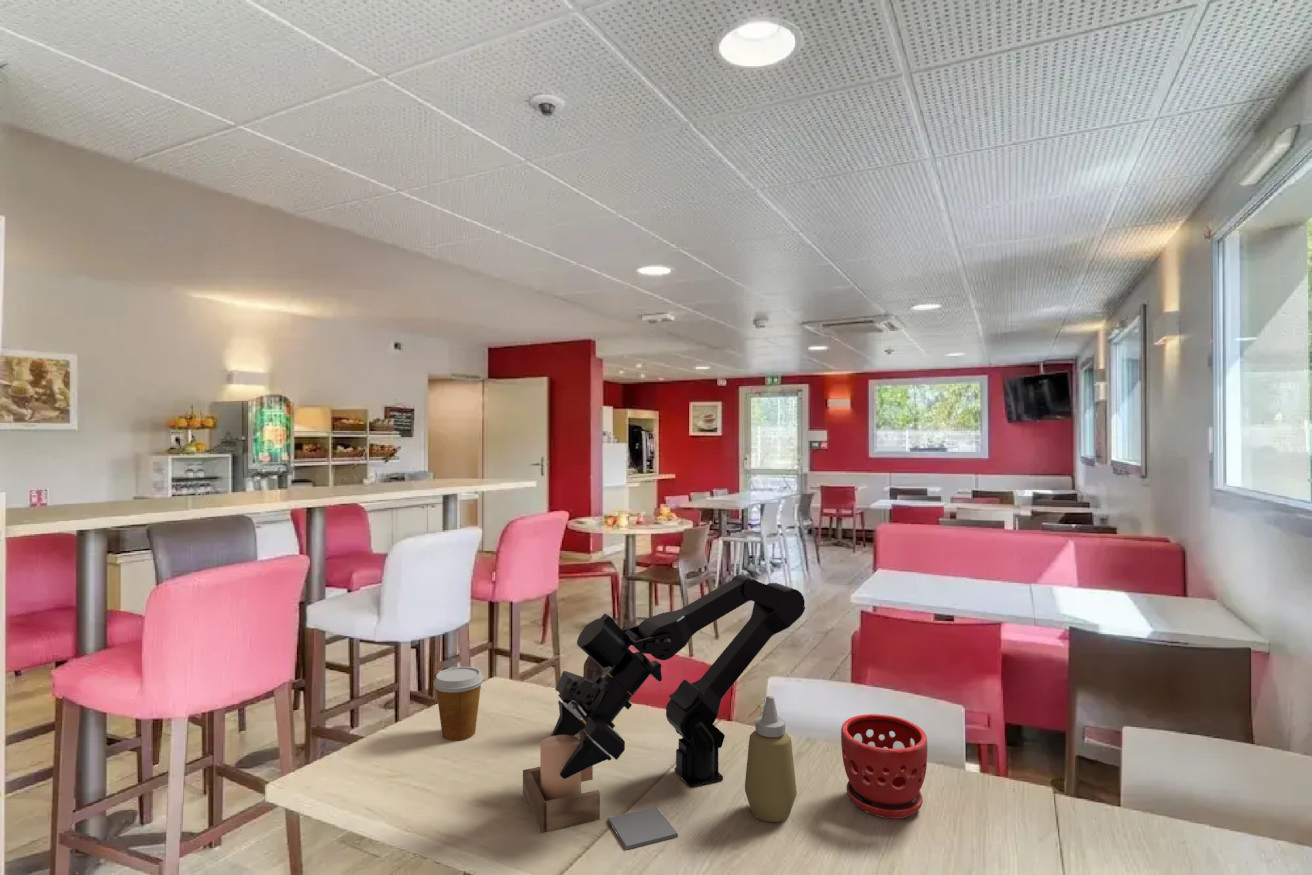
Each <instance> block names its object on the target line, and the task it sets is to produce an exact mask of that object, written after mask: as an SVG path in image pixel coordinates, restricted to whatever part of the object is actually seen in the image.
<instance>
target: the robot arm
mask: <svg viewBox="0 0 1312 875" xmlns="http://www.w3.org/2000/svg"><path fill="white" fill-rule="evenodd" d="M751 601H752V602H753V607H752V611H751V612H752V613H751V616H750V618H749V620H748V621H746V623H745V624H744V626H743V627H742V628H741V629H740V631H739V632H738V633H737V634H736V636H734V638H733V639H732V640H731V641H730V643H729V644H728V645H727V646H726V647H725V649H724V650H723V651H722V652H721V653H720V655H719V656H718V657H717V658H716V660H715V661H713V663H712V664H711V666H710V667H709V668H708V670H706V671H705V673H704V674H703V676H701V678H699V679H697V681H694V682H692V683H691V682H690V681H688V680H687V679H683V680H682V681H681V682H680V684H679V685H678V687H677V688H676V690H675V691H673V693H671V694H669V695H668V698H670V699H669V701H668V702H667V704H666V706H665V711H666V712H665V716H666V720H667V721H668V723H669V724H670V725H671V726H672V727H673V728H674V730H675V732H676V733H677V734H678V735H679V736H680V738H678V748H676V751H675V767H674V772H675V773H676V774H677V775H678V777H680V779H682V780H683V782H684V783H685V784H686V785H687V786H688V787H689V788H692V787H693V788H694V787H697V786H702V785H706V784H710V783H711V784H712V783H714V782H715V783H716V782H719V781H723V780H724V776H723V775H722V774H721V772H719V749H720V748H722V746H723V744H724V741H725V740H724V739H725V737H726V735H725V734H724V733H723V732H722V731H721V729H719V728H717V726H715V724H714V723H715V721H716V720H717V718H718V716H719V713H720V712H719V710H720V706H721V704H722V703H721V702H722V699H723V698H724V696H725V695H726V693H728V692H729V690H730V689H731V687H732V686H733V685H734V684H735V683H736V682H737V680H738V679H739V678H740V677H741V675H742V674H743V673H744V672H745V670H746V669H747V667H749V665H750V664H751V663H752V662H753V660H754V659H755V658H756V656H758V655H759V653H760V652H761V650H762V649H763V648H764V647H765V646H766V644H767V643H768V642H769V640H770V639H771V638H772V637H773V636H775V635H776V634H779V633H781V632H784V631H785V630H787V629H789V628H790V627H791V626H792V625H793V624H794V623H796V622H797V620H799V619H800V618H801V617H802V615H803V614H804V613H805V610H806V606H805V603H806V602H805V598H804V596H803V593H802V592H801V591H799V589H798V590H797V589H795V588H792V587H790V586H787V585H784V584H781V583H777V582H769V583H767V584H765V583H762V582H760V581H758V579H755V578H754V577H750V576H747V575H745V574H738V575H735V576H733V577H732V579H731V580H729V581H727V582H726V583H724V584H722V585H720V586H718V587H717V588H715V589H714V590H711V591H710V592H708V593H707V594H705V595H703V596H701V597H700V598H699V597H698V599H696V600H694V601H692V602H691V603H689V604H687V605H685V606H683V607H682V608H680V609H676V610H672V611H668V612H667V611H666V612H662V613H659V614H655V615H653V616H650V617H647V618H645V619H644V620H642V621H641V622H640V623H639V624H638V625H634V626H630V627H628V628H623V629H622V627H620V626H619V625H618V624H617V623H616V621H615V620H614V618H612V617H611V616H610V615H609V614H607V613H603V615H602V616H601V617H600V618H597V619H594V620H593V621H592V622H590V623H589V624H587V625H585V626H584V628H583V629H582V630H581V631H580V633H579V635H578V638H577V640H576V646H577V647H579V648H580V650H582V651H583V652H584V653H585V654H586V655H587V656H590V657H591V658H592V659H593V660H594V661H595V662H596V663H597V664H598V665H599V666H601V667H602V668H606V667H608V666H610V667H611V668H610V669H609V670H608V673H609V674H610V675H611V676H612V677H611V676H610V675H609V674H608V673H606V674H605V675H604V676H603V677H602V676H601V675H600V674H599V675H596V676H595V677H594V679H593V680H590V679H586V678H584V677H583V676H582V675H578V674H576V673H572V672H569V671H567V670H563V671H562V673H561V674H560V677H559V679H558V683H557V684H556V686H555V691H556V692H558V693H559V694H558V695H557V696H558V697H559V699H560V700H557V701H558V702H557V703H558V708H559V716H558V719H557V721H556V723H555V726H554V729H553V730H552V733H551V734H550V737H551V736H556V735H571V736H575V737H576V735H577V734H579V739H580V743H579V745H578V746H577V748H576V749H575V751H574V752H573V754H572V755H571V757H570V758H569V760H568V761H567V763H566V764H565V766H564V767H563V769H562V771H561V772H560V776H561V777H562V778H564V779H566V778H568V777H570V776H572V775H574V774H576V773H578V772H580V771H582V770H584V769H586V768H588V767H590V766H593V767H594V766H595V765H598V764H600V763H602V762H605V761H611V760H612V759H615V760H616V761H618V759H619V758H620V756H621V755H622V754H623V753H624V752H625V750H626V747H625V746H626V743H625V742H626V741H625V740H624V739H623V737H622V736H621V735H620V734H619V733H618V732H617V731H616V730H615V729H614V728H615V727H616V725H615V724H614V720H615V719H616V717H617V716H618V715H619V714H620V713H621V711H622V710H623V709H624V708H625V709H627V710H630V708H631V707H632V706H633V704H632V703H631V702H630V701H631V699H632V698H633V697H634V695H635V694H636V692H637V691H639V689H640V688H641V686H643V684H644V683H645V682H646V680H647V679H649V677H650V676H651V677H653V678H654V679H655V680H656V681H658V682H661V681H662V680H663V677H662V676H663V674H662V664H661V662H659V661H658V660H660V661H666V660H669V659H671V658H673V657H674V656H675V655H676V654H678V653H679V652H680V651H681V650H683V649H684V648H685V647H686V646H687V645H688V643H689V642H690V639H691V638H692V637H693V636H694V635H695V634H697V633H698V632H699V631H701V630H702V629H703V628H705V627H707V626H709V625H710V624H713V623H714V622H716V621H718V620H719V619H721V618H723V617H724V616H726V615H727V614H729V613H731V612H733V611H735V610H736V609H737V608H739V607H741V606H743V605H745V604H746V603H748V602H751ZM630 647H632V648H634V649H636V651H635V652H633V651H632V650H631V649H630ZM645 654H649V655H651V656H652V657H653V658H655V659H657V660H650V659H649V657H647V655H645ZM582 718H583V719H584V720H585V722H586V725H585V723H584V722H583V721H582ZM612 721H613V722H612ZM583 729H584V730H585V731H586V732H587V733H586V732H584V731H583Z"/></svg>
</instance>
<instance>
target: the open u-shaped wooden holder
mask: <svg viewBox="0 0 1312 875" xmlns="http://www.w3.org/2000/svg"><path fill="white" fill-rule="evenodd" d="M522 795H523V798H524V800H525V802H526V804H527V806H528V807H527V808H528V809H529V811H530V813H532V814H531V815H532V818H533V820H534V822H535V824H536V827H537V829H538V831H539V833H540V834H542V833H545V832H550V830H551V831H554V830H559V829H562V828H567V827H572V826H576V825H580V824H583V823H589V822H593V821H598V820H601V806H600V805H601V799H600V798H601V796H600V795H601V792H600V791H599V789H596V790H592V791H586V792H581V794H576V795H572V796H567V797H563V798H558V799H553V800H549V801H545V800H544V798H543V796H542V794H541V766H538V767H537V766H535V767H532V768H527V769H522Z"/></svg>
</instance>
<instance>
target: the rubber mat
mask: <svg viewBox="0 0 1312 875" xmlns="http://www.w3.org/2000/svg"><path fill="white" fill-rule="evenodd" d="M607 821H608V823H609V824H610V826H611V827H612V826H613V828H614V829H613V828H612V829H613V830H615V831H616V832H617V834H618V835H617V834H616V835H617V837H618V836H619V837H618V839H619V840H620V839H621V840H620V841H622V842H623V843H622V842H621V843H622V845H623V844H624V845H623V846H624V848H625V847H626V848H627V849H628V850H630V849H629V848H631V849H635V848H639V847H643V846H646V845H650V844H654V843H658V842H662V841H666V840H670V839H674V838H678V836H679V835H678V832H677V830H675V828H674V826H672V824H671V823H670V822H669V820H668V819H667V818H666V817H665V816H664V814H663V812H661V811H660V809H659V808H658V807H657V806H652V807H648V808H644V809H640V810H636V811H631V812H627V813H623V814H622V813H621V814H617V815H614V816H609V817H608V819H607ZM615 831H614V832H615ZM616 832H615V833H616ZM626 848H625V849H626ZM627 849H626V850H627Z"/></svg>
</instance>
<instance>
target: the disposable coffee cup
mask: <svg viewBox="0 0 1312 875" xmlns="http://www.w3.org/2000/svg"><path fill="white" fill-rule="evenodd" d="M483 682H484V675H483V673H482V671H481V669H480V668H478V667H473V666H455V667H449V668H446V669H443V670H440V671H439V672H438V673H437V674H436V675H435V678H434V680H433V686H434V688H435V690H436V697H437V704H438V712H439V720H440V728H441V735H442V736H441V737H442V739H444V740H445V741H450V742H452V741H453V742H457V741H459V742H460V741H464V740H467V739H470V738H472V737H473V736H474V735H475V734H476V730H477V728H476V727H477V721H478V712H479V704H480V696H481V695H480V694H481V690H482V689H481V688H482V684H483Z"/></svg>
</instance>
